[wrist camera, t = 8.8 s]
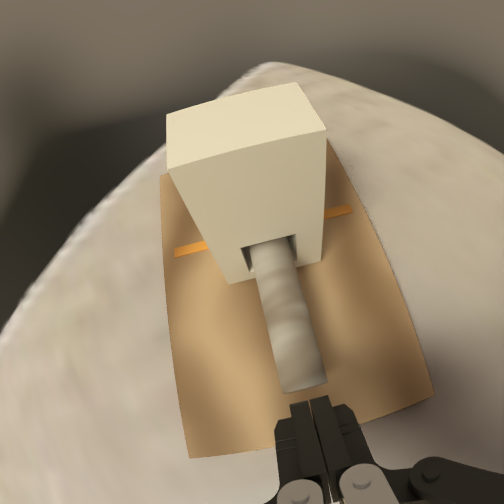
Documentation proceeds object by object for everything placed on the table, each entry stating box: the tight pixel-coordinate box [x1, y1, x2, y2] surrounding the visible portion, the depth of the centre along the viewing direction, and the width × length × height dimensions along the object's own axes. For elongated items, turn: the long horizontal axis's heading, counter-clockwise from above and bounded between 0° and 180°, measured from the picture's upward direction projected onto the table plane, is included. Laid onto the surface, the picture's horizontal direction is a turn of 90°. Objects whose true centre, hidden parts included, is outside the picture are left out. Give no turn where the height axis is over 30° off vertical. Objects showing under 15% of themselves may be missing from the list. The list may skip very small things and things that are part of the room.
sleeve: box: [167, 82, 327, 284], centre depth 17 cm, size 6×4×11 cm, turn 102°
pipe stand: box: [160, 138, 435, 458], centre depth 20 cm, size 16×24×7 cm, turn 12°
